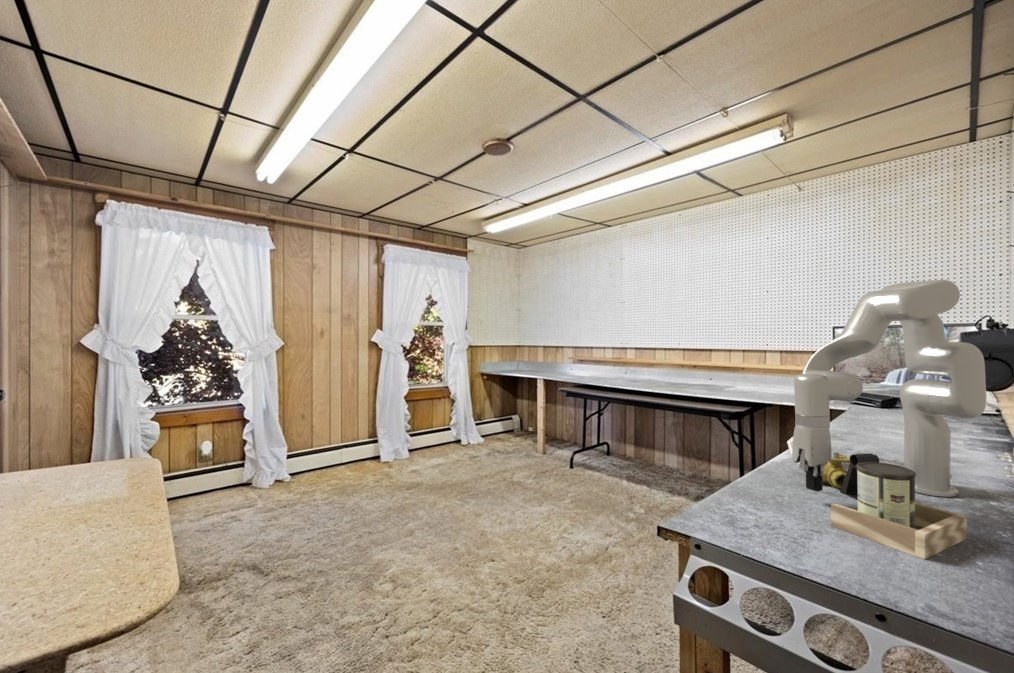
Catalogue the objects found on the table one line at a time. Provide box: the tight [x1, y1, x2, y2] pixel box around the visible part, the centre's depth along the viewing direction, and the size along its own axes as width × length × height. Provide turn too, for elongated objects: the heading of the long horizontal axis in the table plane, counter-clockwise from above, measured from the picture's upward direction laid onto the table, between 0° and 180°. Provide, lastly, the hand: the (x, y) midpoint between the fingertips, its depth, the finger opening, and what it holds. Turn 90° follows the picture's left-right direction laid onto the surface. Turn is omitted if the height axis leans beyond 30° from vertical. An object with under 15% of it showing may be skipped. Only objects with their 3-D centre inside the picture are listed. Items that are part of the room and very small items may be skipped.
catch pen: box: [830, 501, 968, 560], centre depth 99 cm, size 19×17×5 cm
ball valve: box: [821, 450, 850, 490], centre depth 130 cm, size 13×10×10 cm
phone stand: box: [839, 453, 880, 501], centre depth 119 cm, size 9×6×12 cm, turn 5°
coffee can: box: [857, 462, 916, 529], centre depth 101 cm, size 10×10×14 cm
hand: (814, 489), depth 116 cm, fingers closed
